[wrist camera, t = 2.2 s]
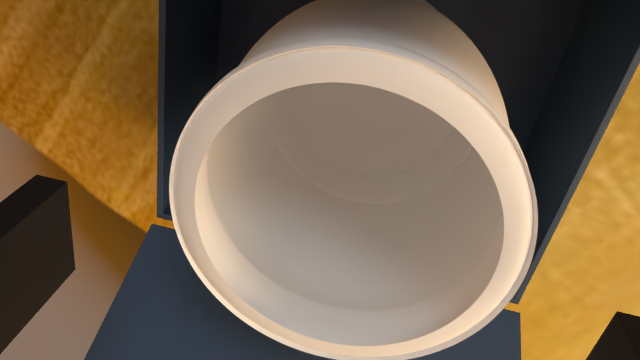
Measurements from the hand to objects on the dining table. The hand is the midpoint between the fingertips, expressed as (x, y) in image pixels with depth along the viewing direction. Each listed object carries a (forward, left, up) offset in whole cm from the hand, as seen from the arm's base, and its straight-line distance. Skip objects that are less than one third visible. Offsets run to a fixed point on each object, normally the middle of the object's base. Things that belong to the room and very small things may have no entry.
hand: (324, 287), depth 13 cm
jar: (0, 0, -18) cm, 18 cm away
